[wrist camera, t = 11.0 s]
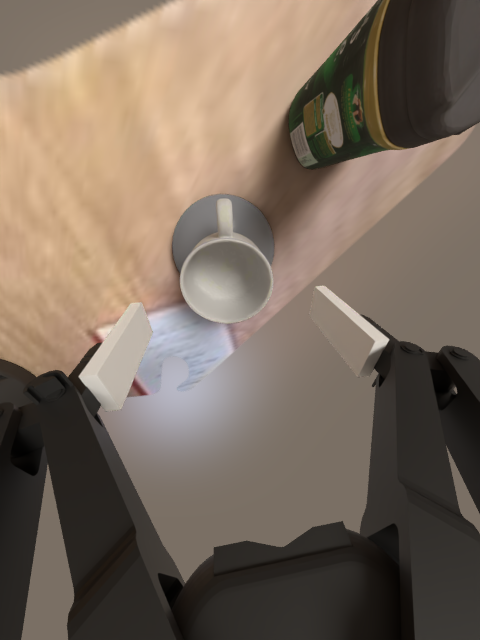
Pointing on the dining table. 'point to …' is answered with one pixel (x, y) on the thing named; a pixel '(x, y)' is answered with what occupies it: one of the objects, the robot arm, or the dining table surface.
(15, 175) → the dining table surface
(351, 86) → the coffee jar
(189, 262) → the teacup
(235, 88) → the dining table surface
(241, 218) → the charcoal plate
